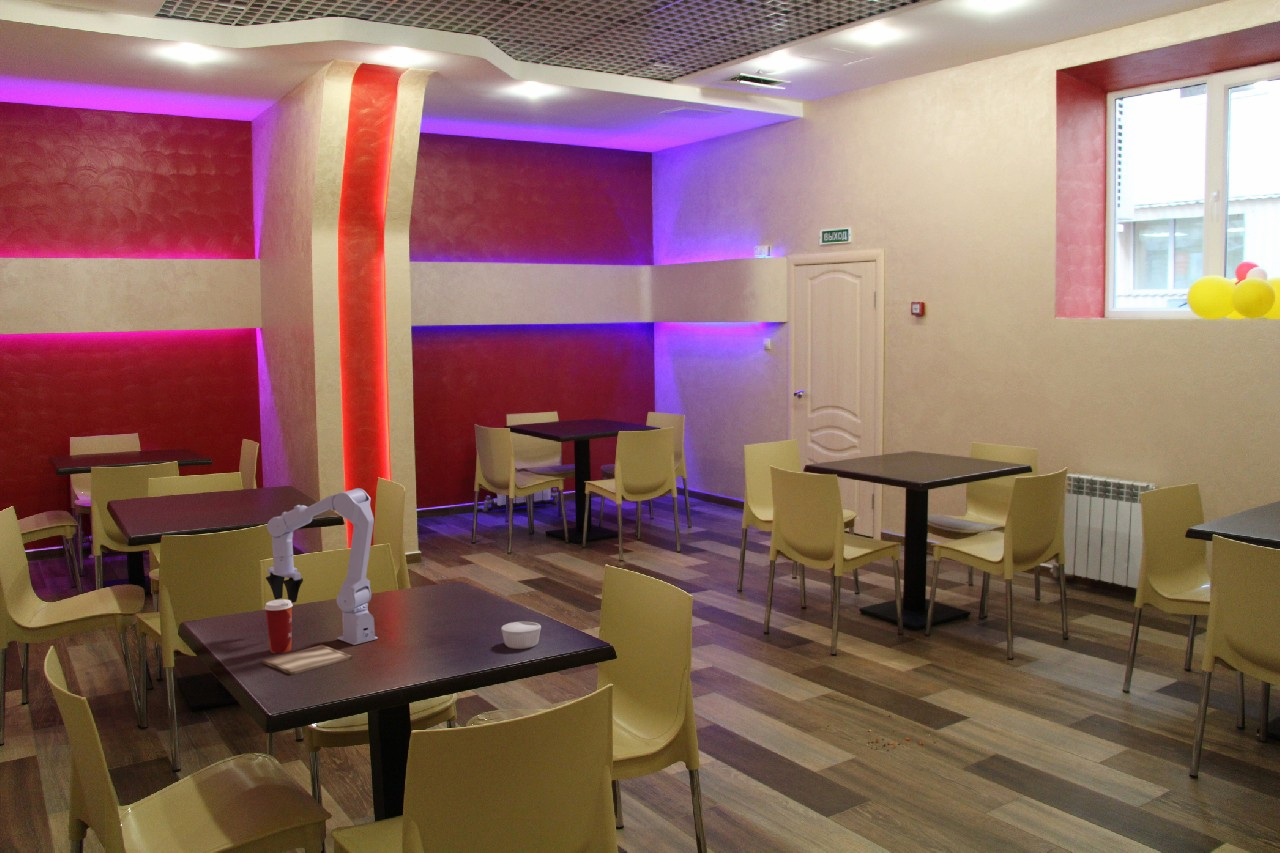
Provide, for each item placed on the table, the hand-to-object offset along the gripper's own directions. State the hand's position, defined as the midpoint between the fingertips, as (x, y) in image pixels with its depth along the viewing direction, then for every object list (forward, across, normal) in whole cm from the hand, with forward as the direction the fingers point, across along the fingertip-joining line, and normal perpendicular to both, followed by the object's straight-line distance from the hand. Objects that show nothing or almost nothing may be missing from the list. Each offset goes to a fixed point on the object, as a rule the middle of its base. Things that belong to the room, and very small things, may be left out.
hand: (285, 600), depth 314 cm
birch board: (+10, -28, +12) cm, 32 cm away
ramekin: (+11, -66, -34) cm, 75 cm away
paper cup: (+11, -13, +10) cm, 20 cm away
